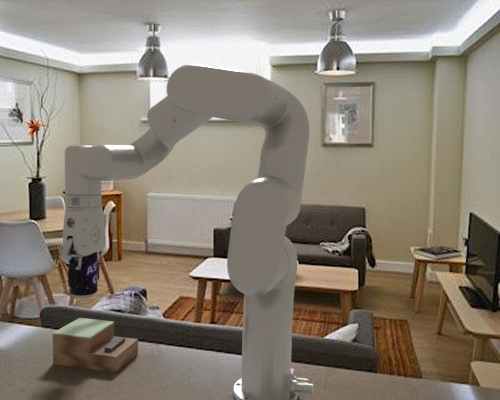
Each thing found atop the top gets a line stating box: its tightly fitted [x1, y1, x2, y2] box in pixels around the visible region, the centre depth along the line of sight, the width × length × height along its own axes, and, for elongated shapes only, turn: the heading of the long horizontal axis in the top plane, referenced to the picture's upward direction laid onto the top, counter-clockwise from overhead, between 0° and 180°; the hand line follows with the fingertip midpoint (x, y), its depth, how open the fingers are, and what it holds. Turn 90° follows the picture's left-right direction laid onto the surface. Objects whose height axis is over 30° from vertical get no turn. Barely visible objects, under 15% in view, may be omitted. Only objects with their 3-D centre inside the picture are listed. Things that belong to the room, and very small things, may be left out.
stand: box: [52, 317, 139, 374], centre depth 105 cm, size 15×10×7 cm, turn 77°
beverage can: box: [69, 252, 98, 299], centre depth 104 cm, size 6×6×12 cm
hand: (84, 282), depth 105 cm, fingers closed on beverage can, 5 cm apart
